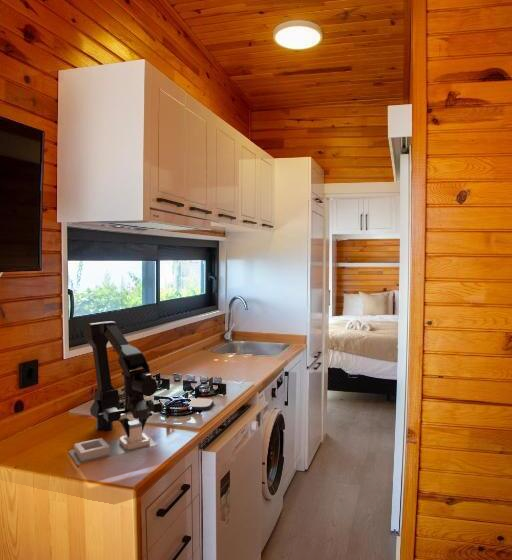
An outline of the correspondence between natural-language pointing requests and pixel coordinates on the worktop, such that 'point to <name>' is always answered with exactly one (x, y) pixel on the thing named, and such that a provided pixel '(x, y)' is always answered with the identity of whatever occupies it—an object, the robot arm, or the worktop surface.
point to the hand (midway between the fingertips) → (134, 435)
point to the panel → (112, 451)
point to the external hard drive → (200, 403)
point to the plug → (134, 431)
